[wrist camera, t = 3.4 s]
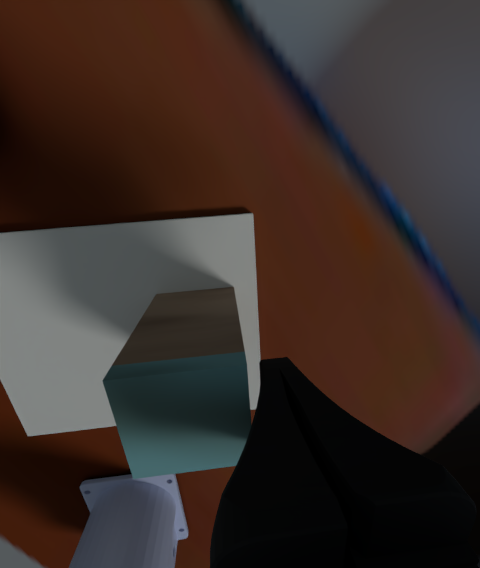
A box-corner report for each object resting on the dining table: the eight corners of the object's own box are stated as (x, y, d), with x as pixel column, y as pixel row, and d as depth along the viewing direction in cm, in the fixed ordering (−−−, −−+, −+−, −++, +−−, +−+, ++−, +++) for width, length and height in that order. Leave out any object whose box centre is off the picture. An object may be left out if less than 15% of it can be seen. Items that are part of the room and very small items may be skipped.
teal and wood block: (239, 351, 18) (254, 463, 11) (169, 359, 18) (133, 478, 10) (233, 286, 16) (247, 364, 9) (156, 294, 16) (102, 380, 9)
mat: (261, 402, 21) (262, 408, 20) (33, 429, 20) (27, 436, 19) (252, 212, 16) (253, 213, 15) (-57, 236, 15) (-69, 238, 14)
